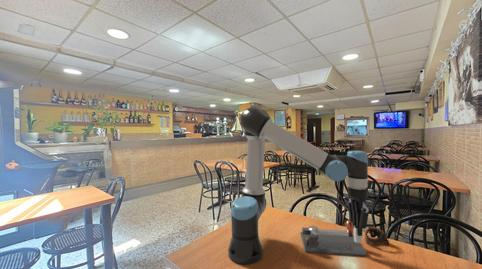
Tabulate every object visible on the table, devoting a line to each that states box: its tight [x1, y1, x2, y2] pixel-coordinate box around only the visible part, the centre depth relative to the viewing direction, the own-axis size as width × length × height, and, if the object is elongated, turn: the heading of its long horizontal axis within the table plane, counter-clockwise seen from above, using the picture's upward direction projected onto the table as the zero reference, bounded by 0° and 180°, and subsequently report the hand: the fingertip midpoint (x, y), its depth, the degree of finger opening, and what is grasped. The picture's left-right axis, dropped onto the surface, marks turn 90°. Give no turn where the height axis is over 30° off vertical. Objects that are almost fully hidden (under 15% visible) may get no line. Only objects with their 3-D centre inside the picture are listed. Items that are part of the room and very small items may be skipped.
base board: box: [300, 231, 367, 257], centre depth 96 cm, size 25×14×7 cm, turn 82°
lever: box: [301, 219, 354, 241], centre depth 96 cm, size 22×4×9 cm, turn 82°
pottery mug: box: [364, 225, 390, 246], centre depth 98 cm, size 12×10×8 cm
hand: (358, 241), depth 89 cm, fingers closed
